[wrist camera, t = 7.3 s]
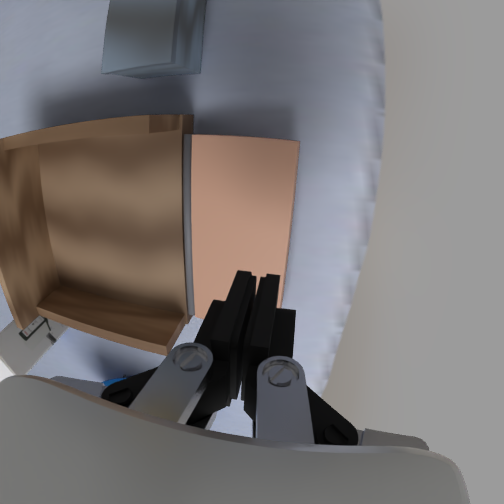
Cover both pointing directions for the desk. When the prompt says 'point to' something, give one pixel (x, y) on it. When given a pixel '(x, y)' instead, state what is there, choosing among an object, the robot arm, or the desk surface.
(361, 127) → the desk surface
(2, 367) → the ink box
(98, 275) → the brown open box
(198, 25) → the blue gray block
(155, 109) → the desk surface
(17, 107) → the desk surface
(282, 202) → the panel
